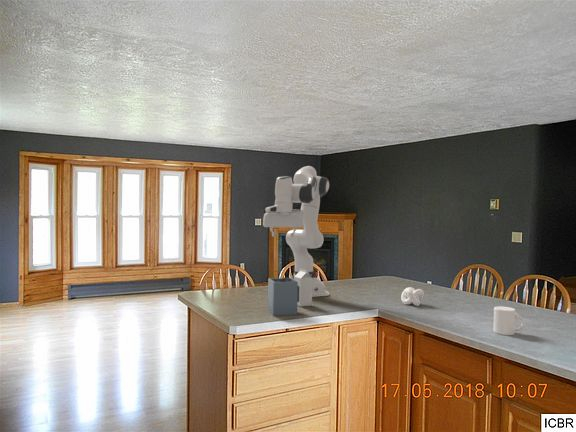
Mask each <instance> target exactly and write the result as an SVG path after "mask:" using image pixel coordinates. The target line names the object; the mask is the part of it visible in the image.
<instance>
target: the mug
mask: <svg viewBox="0 0 576 432" xmlns="http://www.w3.org/2000/svg"><path fill="white" fill-rule="evenodd" d="M516 317H517V318H518V319H520V321H521V324H520V325H519V326H516ZM525 325H526V324H525V320H524V318H523V317H522V316H521V314H520V313H518V312H517V311H516V309H515V308H513V307H509V306H502V305H501V306H494V307H493V328H492V329H493V332H494V333H496V334H497V335H503V336H514V335H515V334H516V332H518V331H522V330H523V329H524V328H525Z"/></svg>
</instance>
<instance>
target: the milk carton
mask: <svg viewBox="0 0 576 432" xmlns="http://www.w3.org/2000/svg"><path fill="white" fill-rule="evenodd" d="M293 279H294V280H296V281H297V282H298V285H299V302H297V307H308V306H309V307H310V306H312V305H313V297H312V277H311V276H310V275H309V273H308V272H307V270H303V269H300V271H299V272H298V273H297V274H296V275H295V276H294V275H293Z"/></svg>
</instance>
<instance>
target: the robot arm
mask: <svg viewBox="0 0 576 432" xmlns="http://www.w3.org/2000/svg"><path fill="white" fill-rule="evenodd" d="M274 188H275V189H274V195H275V200H274V205H270V206H267V207H265V210H264V211H265V213H264V214H263V218H262V226H263V227H264V228H269V230H270V232H271V236H272V237H273V238H274V237H277V233H276V232H274V228H292V229H291V230H289V231H287V233H286V235H285V242H286V245H288V246H289V247H290V250H291V251H292V254H293V258H294V259H293V260H294V271H293V277H294V276H295V275H296V274H297V273H298V272H299V271H300V269H303V270H307V272H308V273H309V275H310V276H311V277H312V298H315V297H316V298H317V297H326V296H327V297H328V296H330V292H329V291H327V290H326V286H325V285H326V284H324V283H323V282H322V281H321V280H320V279H319V278H317V276H319V274H320V273H319V272H317V271H314V258H313V256H312V255H311V254H310V253H309V252H308V249H318V248H321V247H322V246H323V244H324V240H325V239H324V235H323V233H322V232H321V231H320V229H319V224H318V220H319V219H318V217H319V211H320V204H321V198H322V197H323V196H325V195H326V194H327V193H328V191H329V188H330V182H329V179H328V177H325V176H320V175H319V176H318V175H317V170H316V168H314V167H313V166H311V165H307V166H303V167H301V168H300V169H298V170H297V171H296V172H295V173H294V176H293V179H292V176H289V175H282V176H281V175H280V176H278V177H276V180H275V186H274ZM293 203H296V204H297V203H299V204H300V203H301V206H300V208H293ZM297 228H299V229H297ZM300 228H302V229H300Z"/></svg>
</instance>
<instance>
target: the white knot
mask: <svg viewBox="0 0 576 432" xmlns="http://www.w3.org/2000/svg"><path fill="white" fill-rule="evenodd" d="M424 295H425V293H424V290H423V289H421V288H417V289H415V288H414V287H406V288H405V289H404V290H403V291H402V292H401V296H400V299H401V302H402V303H403V304H404V305H406V306H409V305H411V304H413V305H414V306H415V307H419V306H420V305H421V301H422V299H423V297H424Z"/></svg>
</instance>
